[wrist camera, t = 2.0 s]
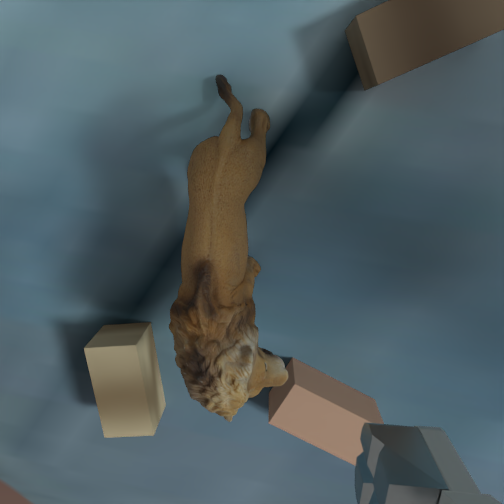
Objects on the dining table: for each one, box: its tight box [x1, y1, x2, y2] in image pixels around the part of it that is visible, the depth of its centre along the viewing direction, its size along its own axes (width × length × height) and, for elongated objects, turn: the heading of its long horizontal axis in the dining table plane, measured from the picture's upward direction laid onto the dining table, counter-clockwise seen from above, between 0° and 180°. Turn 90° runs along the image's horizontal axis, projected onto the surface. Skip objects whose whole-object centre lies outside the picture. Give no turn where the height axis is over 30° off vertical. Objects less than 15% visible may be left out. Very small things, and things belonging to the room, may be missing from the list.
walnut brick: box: [345, 0, 504, 90], centre depth 19 cm, size 6×3×3 cm, turn 113°
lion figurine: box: [169, 75, 288, 422], centre depth 19 cm, size 15×5×9 cm, turn 5°
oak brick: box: [84, 322, 166, 438], centre depth 25 cm, size 6×3×3 cm, turn 6°
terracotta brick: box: [269, 357, 384, 466], centre depth 25 cm, size 6×3×3 cm, turn 62°
